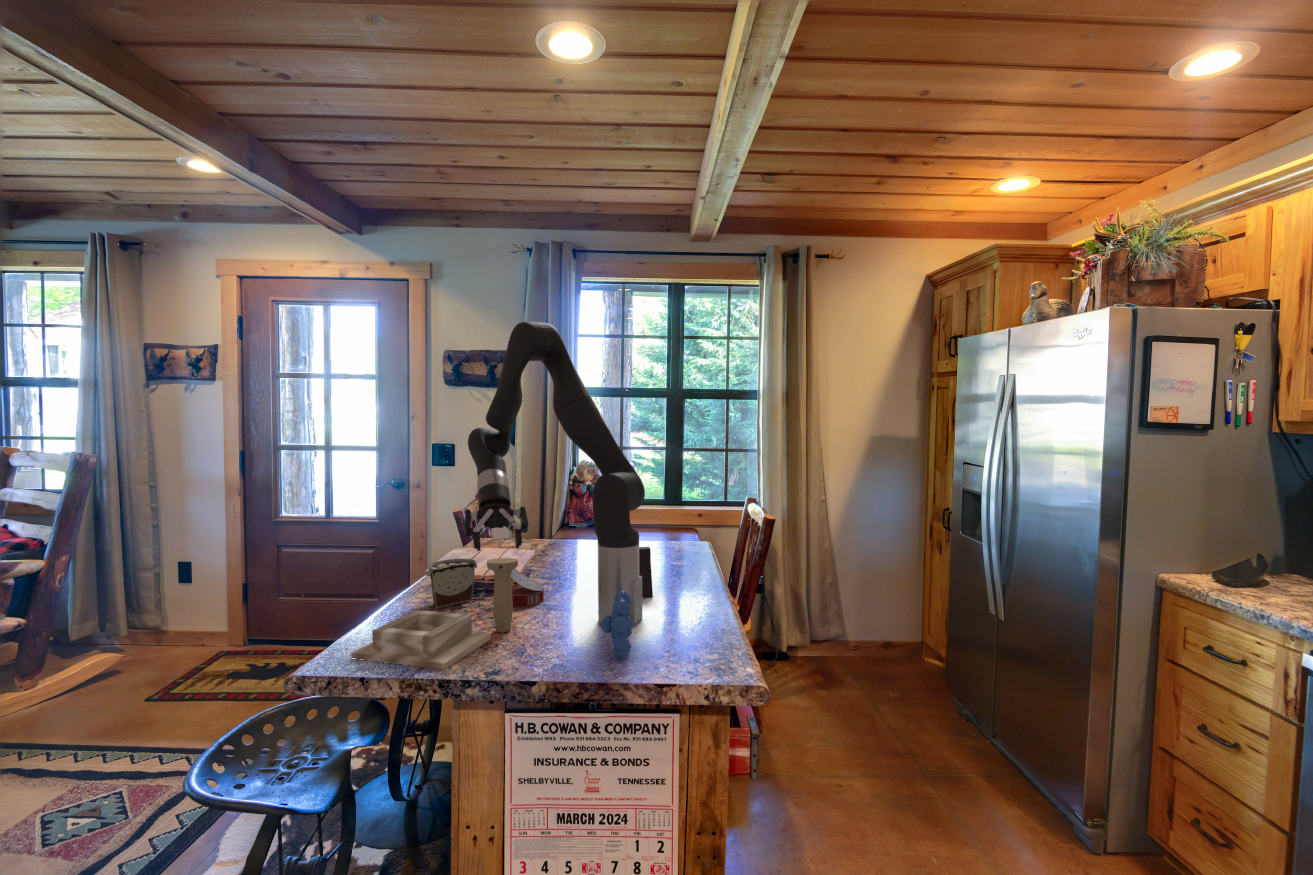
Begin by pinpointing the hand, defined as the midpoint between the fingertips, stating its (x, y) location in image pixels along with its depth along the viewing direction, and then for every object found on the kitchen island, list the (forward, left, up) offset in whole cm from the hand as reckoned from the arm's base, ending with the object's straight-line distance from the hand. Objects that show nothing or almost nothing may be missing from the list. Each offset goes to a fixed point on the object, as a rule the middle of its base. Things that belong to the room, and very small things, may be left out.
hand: (498, 547), depth 136 cm
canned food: (+1, -14, -17) cm, 22 cm away
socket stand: (+5, +20, -16) cm, 26 cm away
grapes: (-33, +14, -16) cm, 39 cm away
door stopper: (-25, -27, -16) cm, 40 cm away
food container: (+19, -9, -16) cm, 27 cm away
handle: (-5, +7, -16) cm, 18 cm away
